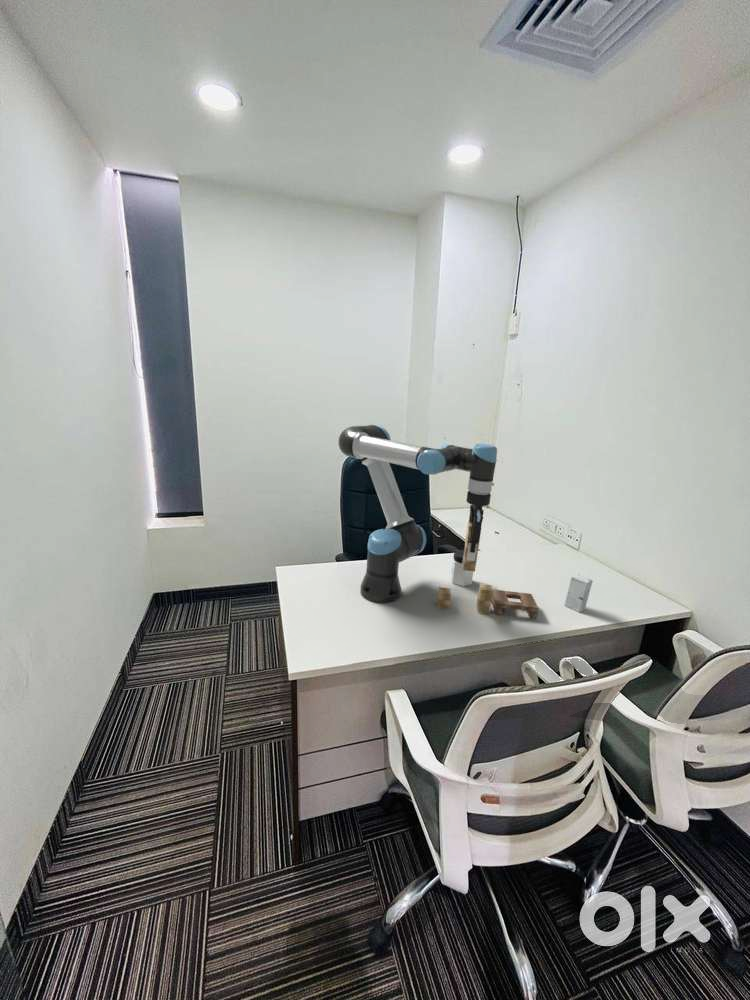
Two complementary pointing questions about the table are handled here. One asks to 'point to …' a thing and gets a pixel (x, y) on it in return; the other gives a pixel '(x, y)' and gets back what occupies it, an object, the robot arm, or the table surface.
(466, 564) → the peg long
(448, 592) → the peg short
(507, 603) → the bridge
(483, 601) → the peg mid
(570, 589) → the skincare box
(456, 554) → the jar
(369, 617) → the table surface
